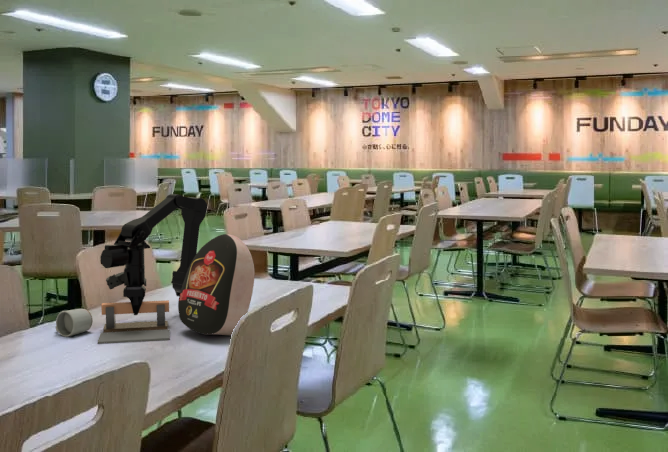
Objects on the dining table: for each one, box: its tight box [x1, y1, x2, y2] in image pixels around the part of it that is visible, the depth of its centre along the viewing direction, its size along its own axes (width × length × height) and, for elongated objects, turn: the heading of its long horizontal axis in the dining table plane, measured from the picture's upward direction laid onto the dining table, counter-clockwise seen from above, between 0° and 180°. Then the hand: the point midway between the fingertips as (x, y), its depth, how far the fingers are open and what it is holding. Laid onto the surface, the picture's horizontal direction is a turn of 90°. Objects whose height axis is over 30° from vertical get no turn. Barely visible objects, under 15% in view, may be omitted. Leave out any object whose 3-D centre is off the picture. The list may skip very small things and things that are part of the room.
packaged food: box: [177, 233, 256, 336], centre depth 207 cm, size 22×20×30 cm
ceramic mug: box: [55, 308, 94, 338], centre depth 207 cm, size 11×8×8 cm
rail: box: [101, 299, 170, 316], centre depth 213 cm, size 20×3×3 cm, turn 104°
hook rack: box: [102, 304, 169, 333], centre depth 213 cm, size 19×7×8 cm, turn 104°
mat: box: [97, 328, 171, 345], centre depth 203 cm, size 20×10×1 cm, turn 104°
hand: (136, 313), depth 213 cm, fingers closed on rail, 3 cm apart
